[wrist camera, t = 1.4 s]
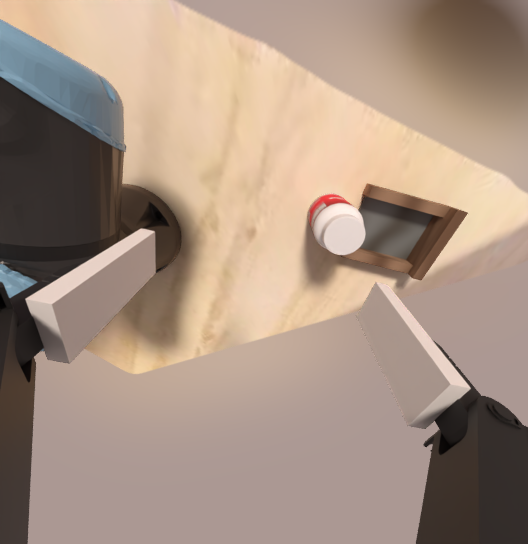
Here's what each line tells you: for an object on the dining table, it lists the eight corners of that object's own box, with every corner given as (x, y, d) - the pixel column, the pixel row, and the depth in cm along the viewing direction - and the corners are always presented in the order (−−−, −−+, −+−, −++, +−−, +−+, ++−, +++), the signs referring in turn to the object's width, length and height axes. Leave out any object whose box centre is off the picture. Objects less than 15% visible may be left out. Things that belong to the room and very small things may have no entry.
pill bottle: (355, 208, 35) (384, 231, 25) (328, 238, 37) (344, 270, 28) (325, 183, 33) (343, 198, 24) (299, 216, 36) (306, 242, 26)
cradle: (337, 250, 38) (343, 260, 35) (367, 183, 33) (377, 187, 29) (408, 268, 39) (421, 280, 36) (448, 206, 34) (468, 212, 30)
